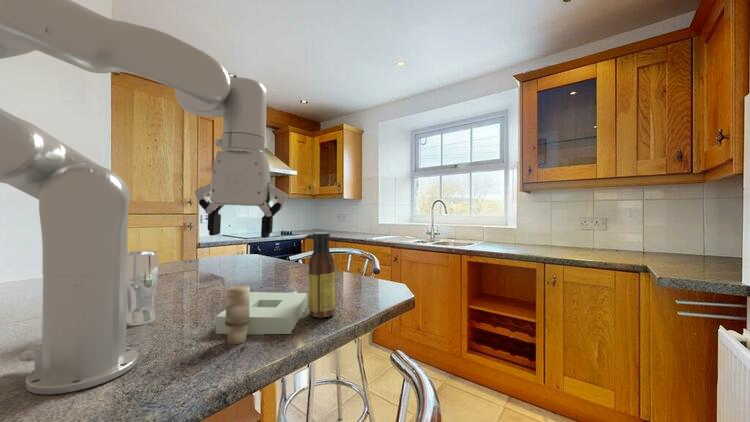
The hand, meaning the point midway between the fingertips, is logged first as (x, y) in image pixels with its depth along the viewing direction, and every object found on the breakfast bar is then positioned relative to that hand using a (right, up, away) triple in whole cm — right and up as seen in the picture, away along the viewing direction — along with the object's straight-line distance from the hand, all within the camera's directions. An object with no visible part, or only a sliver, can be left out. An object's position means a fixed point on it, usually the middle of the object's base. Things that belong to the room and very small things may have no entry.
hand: (240, 235), depth 61 cm
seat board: (+1, -20, +12) cm, 23 cm away
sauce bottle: (+13, -21, +15) cm, 29 cm away
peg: (-1, -20, 0) cm, 20 cm away
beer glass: (-26, -20, +8) cm, 33 cm away
